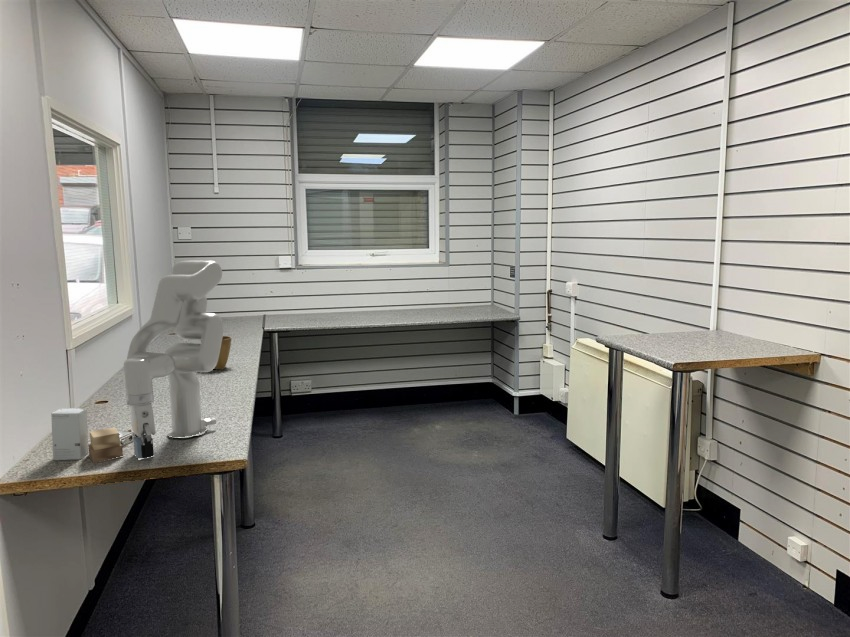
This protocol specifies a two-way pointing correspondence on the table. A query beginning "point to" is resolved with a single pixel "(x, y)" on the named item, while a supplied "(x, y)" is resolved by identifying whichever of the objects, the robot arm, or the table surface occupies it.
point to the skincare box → (69, 434)
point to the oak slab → (104, 438)
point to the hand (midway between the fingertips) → (144, 452)
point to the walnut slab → (105, 453)
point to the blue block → (138, 447)
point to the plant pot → (224, 352)
